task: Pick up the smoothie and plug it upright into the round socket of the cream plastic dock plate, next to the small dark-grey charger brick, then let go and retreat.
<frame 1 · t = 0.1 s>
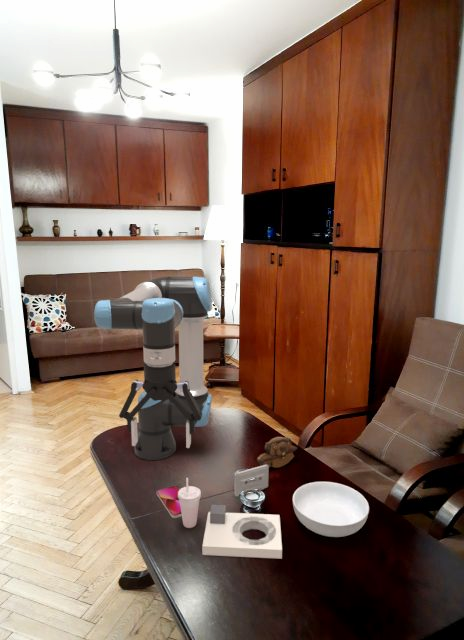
hand: (161, 444, 112), 28 cm above the table, fingers open, 13 cm apart
serving bowl: (328, 523, 126), on the table
smoothie: (189, 524, 125), on the table
wooden carving: (277, 466, 156), on the table
cassette: (251, 492, 141), on the table
smartphone: (175, 503, 135), on the table
dock plate: (242, 538, 119), on the table
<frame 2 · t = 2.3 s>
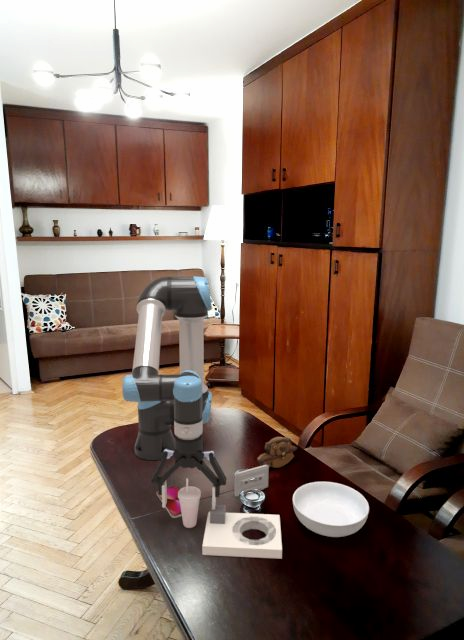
hand: (189, 506, 124), 6 cm above the table, fingers open, 13 cm apart
nothing on the table moved.
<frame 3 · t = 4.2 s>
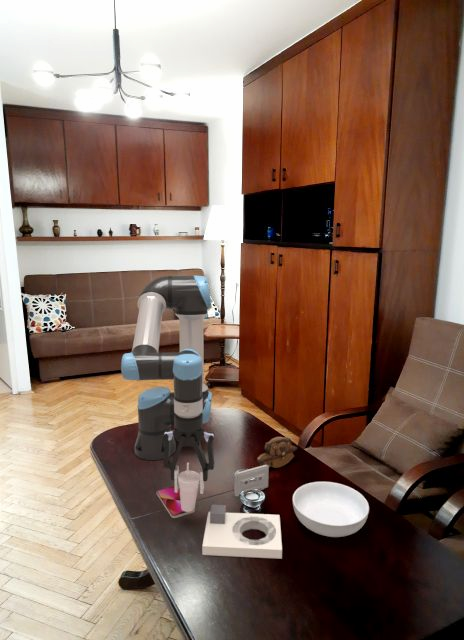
hand: (189, 490, 124), 10 cm above the table, fingers closed on smoothie, 6 cm apart
smoothie: (187, 508, 125), point 4 cm above the table, touching gripper
everything else where it was.
when the fingers open (5 cm above the table, at t = 8.6 s): smoothie stays where it is, resting in dock plate.
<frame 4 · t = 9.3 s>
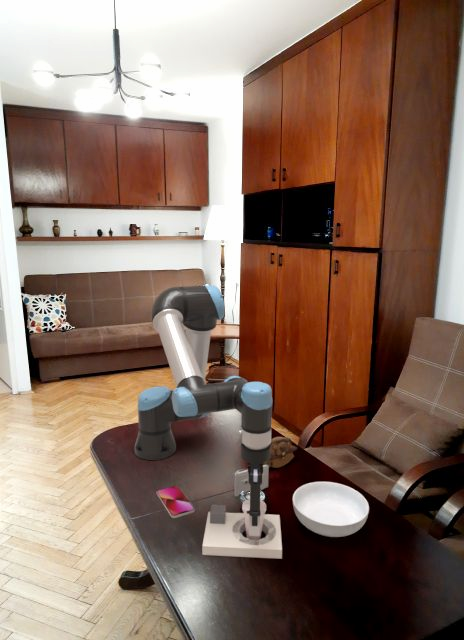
hand: (254, 517, 118), 6 cm above the table, fingers open, 13 cm apart
smoothie: (253, 538, 120), resting in dock plate
everything else where it was.
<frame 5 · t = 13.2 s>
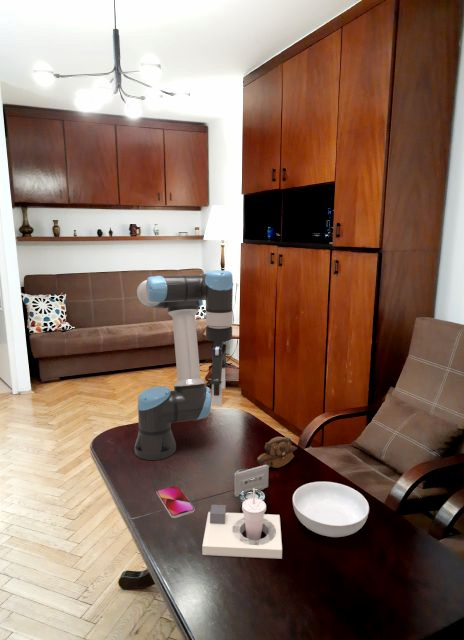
hand: (218, 396, 131), 33 cm above the table, fingers open, 13 cm apart
nothing on the table moved.
at the end: smoothie 0.4 cm from the target spot on the dock plate, point 0.0 cm above the dock plate's base; smoothie tilted 0°; the gripper is holding nothing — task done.
